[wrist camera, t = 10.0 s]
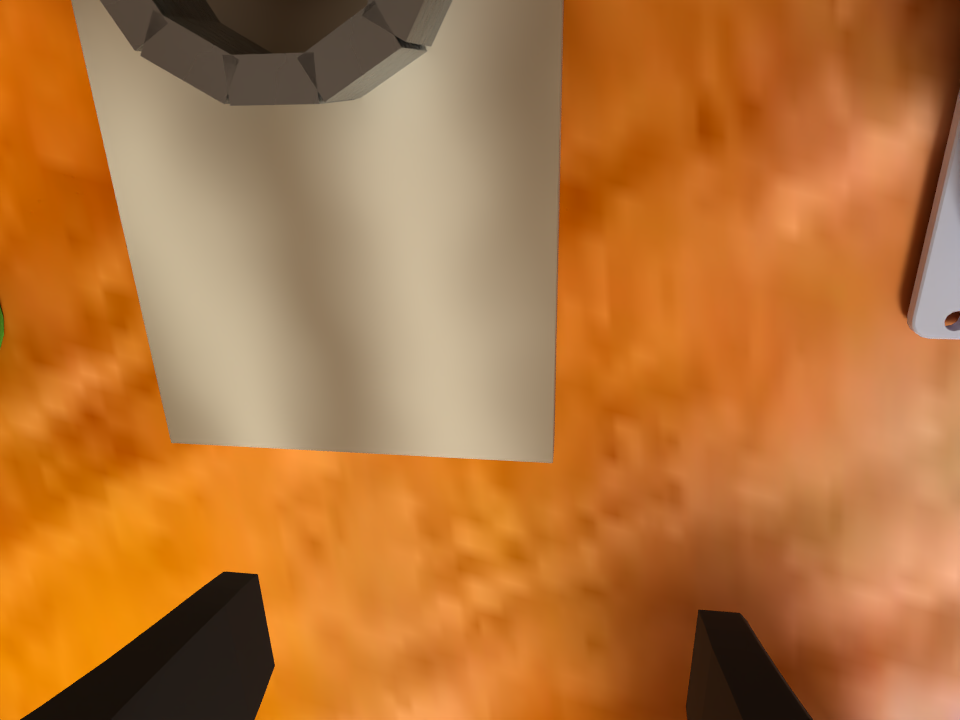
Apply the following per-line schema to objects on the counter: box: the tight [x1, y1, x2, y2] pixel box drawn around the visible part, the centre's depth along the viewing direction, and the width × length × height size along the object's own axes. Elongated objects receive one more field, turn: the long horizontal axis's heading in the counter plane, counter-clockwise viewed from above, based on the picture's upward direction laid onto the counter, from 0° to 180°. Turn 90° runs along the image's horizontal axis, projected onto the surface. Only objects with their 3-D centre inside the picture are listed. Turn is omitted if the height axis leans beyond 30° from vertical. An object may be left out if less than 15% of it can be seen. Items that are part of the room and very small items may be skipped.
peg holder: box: [71, 0, 564, 463], centre depth 16 cm, size 12×22×4 cm, turn 1°
